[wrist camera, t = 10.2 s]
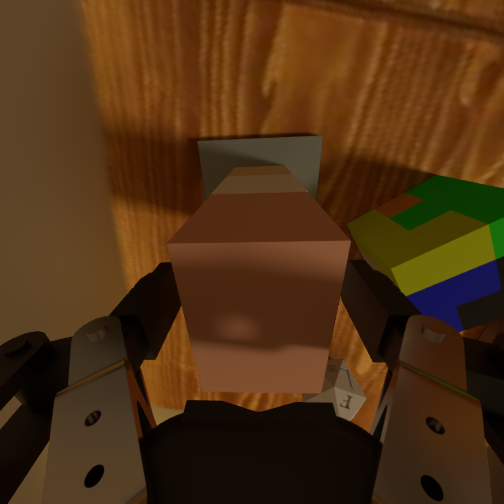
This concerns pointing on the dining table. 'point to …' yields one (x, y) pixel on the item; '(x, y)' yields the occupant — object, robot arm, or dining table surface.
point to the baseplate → (261, 158)
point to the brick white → (259, 184)
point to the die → (339, 390)
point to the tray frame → (492, 330)
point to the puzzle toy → (441, 248)
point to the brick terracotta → (260, 290)
